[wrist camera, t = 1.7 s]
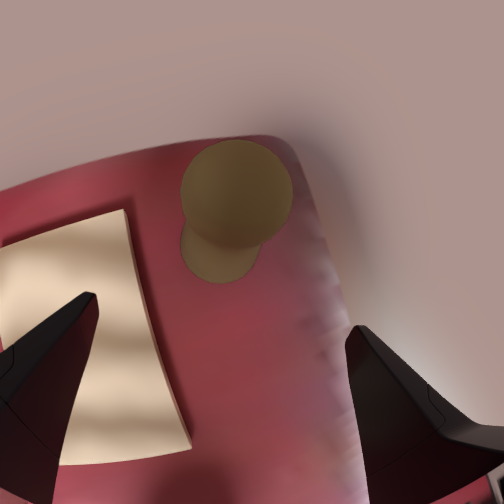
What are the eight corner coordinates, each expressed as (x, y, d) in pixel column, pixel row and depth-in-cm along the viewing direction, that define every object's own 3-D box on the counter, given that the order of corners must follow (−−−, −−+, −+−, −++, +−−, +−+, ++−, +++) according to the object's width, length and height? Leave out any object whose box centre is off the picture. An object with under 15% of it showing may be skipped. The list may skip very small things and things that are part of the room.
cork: (242, 197, 24) (279, 110, 13) (270, 268, 23) (334, 222, 12) (170, 219, 22) (153, 137, 12) (195, 295, 21) (194, 269, 11)
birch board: (191, 441, 18) (191, 448, 17) (52, 458, 15) (46, 464, 14) (127, 215, 21) (123, 208, 20) (-1, 256, 18) (-10, 252, 17)
